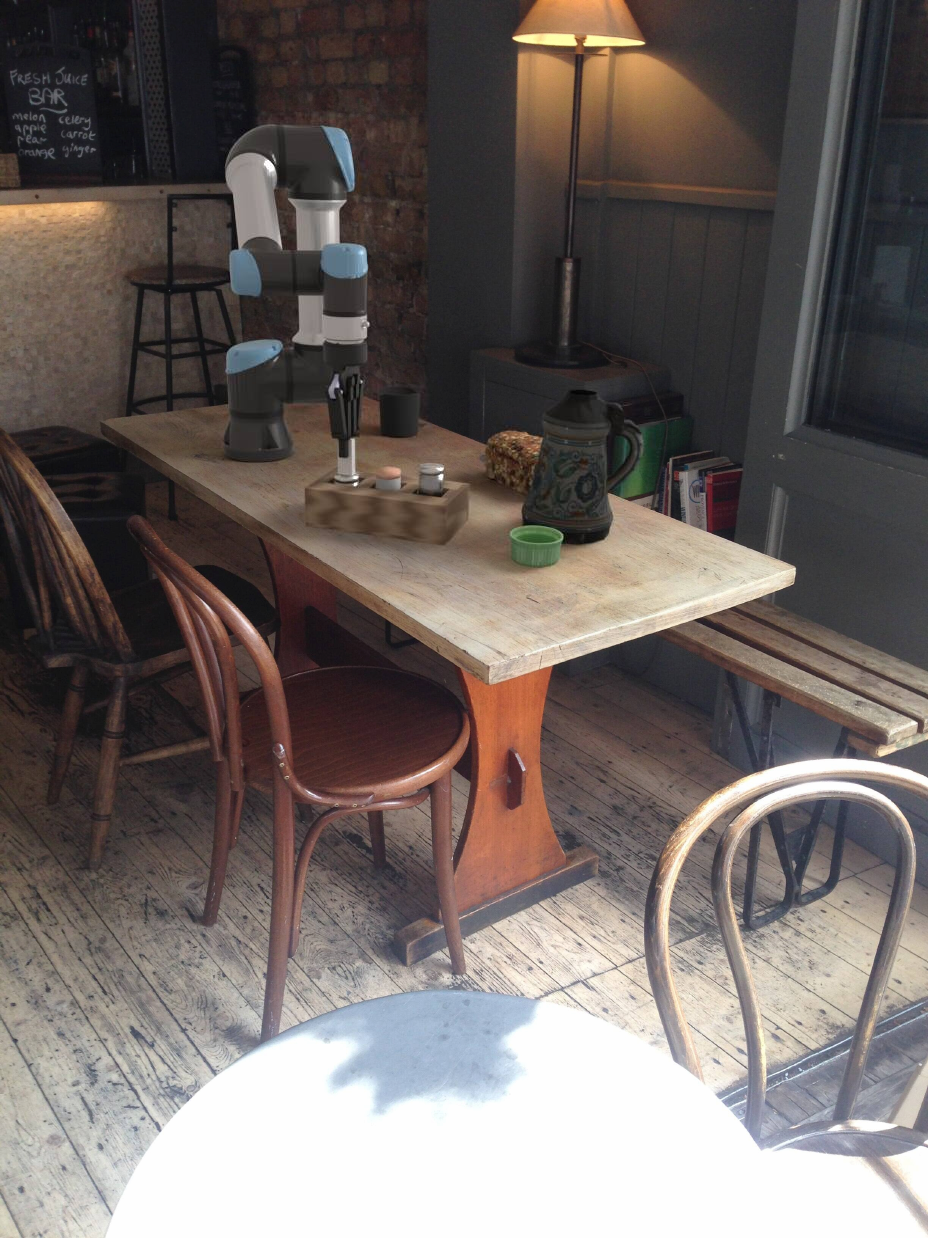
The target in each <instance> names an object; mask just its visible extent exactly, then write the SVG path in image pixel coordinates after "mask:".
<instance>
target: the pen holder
mask: <svg viewBox="0 0 928 1238" xmlns="http://www.w3.org/2000/svg"><path fill="white" fill-rule="evenodd" d="M378 396H379V397H378V398H379V405H378V406H379V421H380V422H379V424H380V425H379V426H380V432H381V434H382V435H383V436H386V437H390V438H399V439H401V438H402V439H405V438H412V437H415V436H416V435H417V434H418V432H419V421H420V420H419V419H420V418H419V417H420V406H421V405H420V404H421V402H420V400H421V393H419V392H418V391H417V390H416V389H415V388H414V387H411V386H405V385H403V386H402V385H395V386H394V385H393V386H392V385H391V386H385V387H381V388H380V389H379V392H378Z"/></svg>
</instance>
